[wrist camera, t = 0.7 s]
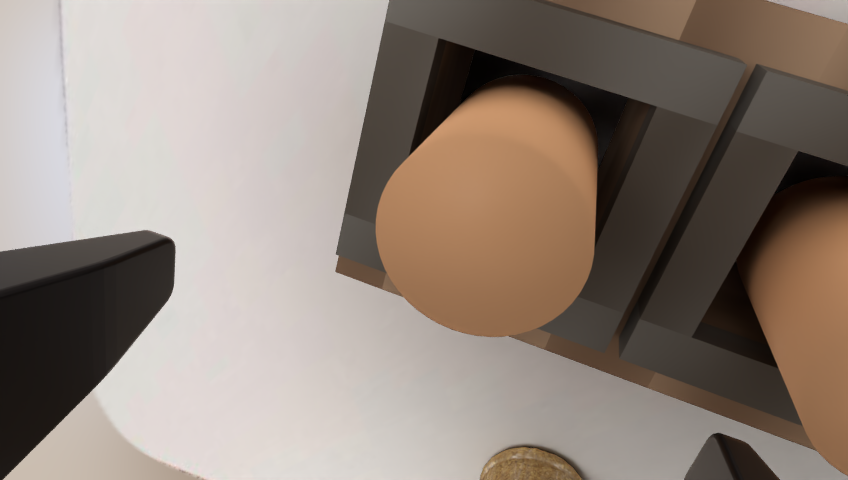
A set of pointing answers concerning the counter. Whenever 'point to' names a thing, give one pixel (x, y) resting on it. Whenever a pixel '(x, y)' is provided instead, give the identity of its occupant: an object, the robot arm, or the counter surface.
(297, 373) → the counter surface
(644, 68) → the socket block
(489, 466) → the sprinkles bottle
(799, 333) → the peg
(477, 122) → the peg
